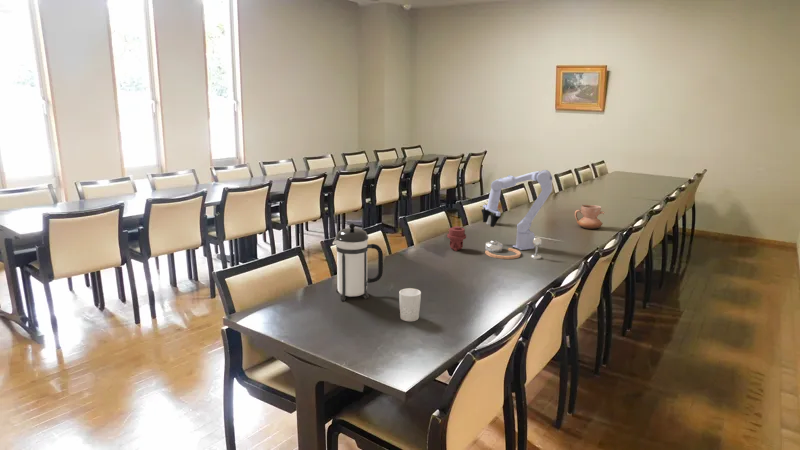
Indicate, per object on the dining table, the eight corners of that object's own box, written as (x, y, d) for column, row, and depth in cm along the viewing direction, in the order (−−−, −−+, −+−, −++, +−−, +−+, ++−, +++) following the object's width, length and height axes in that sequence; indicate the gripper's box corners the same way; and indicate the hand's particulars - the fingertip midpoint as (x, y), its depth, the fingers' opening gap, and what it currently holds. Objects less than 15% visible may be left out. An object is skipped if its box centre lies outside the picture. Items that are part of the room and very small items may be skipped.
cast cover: (496, 247, 283) (496, 238, 282) (505, 251, 275) (506, 242, 274) (482, 248, 279) (482, 239, 278) (491, 253, 271) (491, 243, 270)
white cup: (397, 313, 191) (398, 288, 189) (418, 313, 192) (419, 288, 189) (399, 322, 183) (400, 296, 181) (421, 322, 184) (422, 295, 182)
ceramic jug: (604, 227, 333) (606, 205, 330) (601, 231, 321) (603, 209, 318) (575, 224, 341) (577, 203, 338) (571, 228, 329) (573, 206, 326)
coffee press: (358, 305, 198) (358, 230, 191) (326, 297, 206) (325, 224, 199) (383, 292, 212) (384, 221, 205) (352, 284, 220) (352, 216, 213)
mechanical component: (466, 247, 280) (464, 252, 271) (447, 246, 282) (445, 251, 272) (467, 225, 277) (465, 229, 268) (448, 224, 279) (446, 228, 270)
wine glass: (530, 256, 266) (532, 235, 264) (540, 256, 265) (542, 236, 263) (531, 258, 262) (532, 238, 259) (541, 259, 261) (542, 239, 258)
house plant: (485, 220, 347) (487, 196, 343) (504, 223, 339) (506, 198, 336) (475, 223, 336) (477, 199, 332) (495, 227, 328) (496, 201, 324)
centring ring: (511, 249, 277) (511, 247, 277) (527, 256, 265) (527, 254, 265) (483, 252, 270) (483, 250, 270) (498, 260, 258) (498, 258, 258)
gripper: (480, 197, 287) (475, 220, 291) (494, 204, 274) (489, 228, 278) (490, 197, 290) (486, 220, 294) (505, 205, 277) (500, 228, 281)
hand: (488, 224), depth 286 cm, fingers open, 7 cm apart
